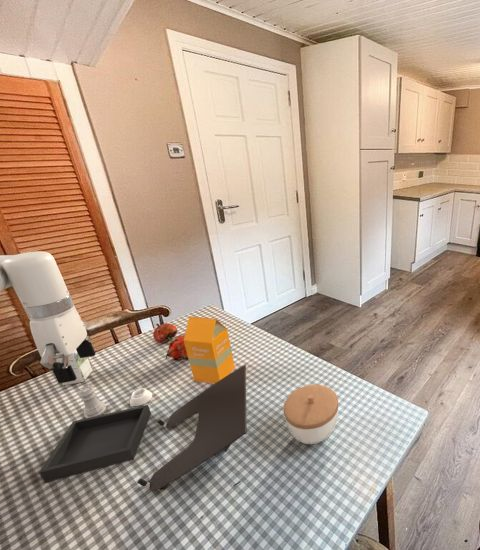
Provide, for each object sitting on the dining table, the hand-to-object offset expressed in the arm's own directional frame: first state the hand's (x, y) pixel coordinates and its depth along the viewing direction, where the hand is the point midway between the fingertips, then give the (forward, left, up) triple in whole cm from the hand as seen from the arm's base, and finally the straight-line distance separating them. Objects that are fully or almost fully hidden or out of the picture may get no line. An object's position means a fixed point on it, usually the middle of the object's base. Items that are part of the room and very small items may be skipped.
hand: (78, 368), depth 74 cm
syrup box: (-11, +18, -15) cm, 26 cm away
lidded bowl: (+53, -25, -15) cm, 60 cm away
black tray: (+6, -12, -14) cm, 19 cm away
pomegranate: (+10, +31, -15) cm, 35 cm away
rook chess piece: (0, 0, -15) cm, 15 cm away
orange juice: (+28, +6, -15) cm, 32 cm away
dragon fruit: (+18, +19, -15) cm, 30 cm away
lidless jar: (+10, +1, -15) cm, 17 cm away
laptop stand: (+28, -19, -15) cm, 37 cm away
